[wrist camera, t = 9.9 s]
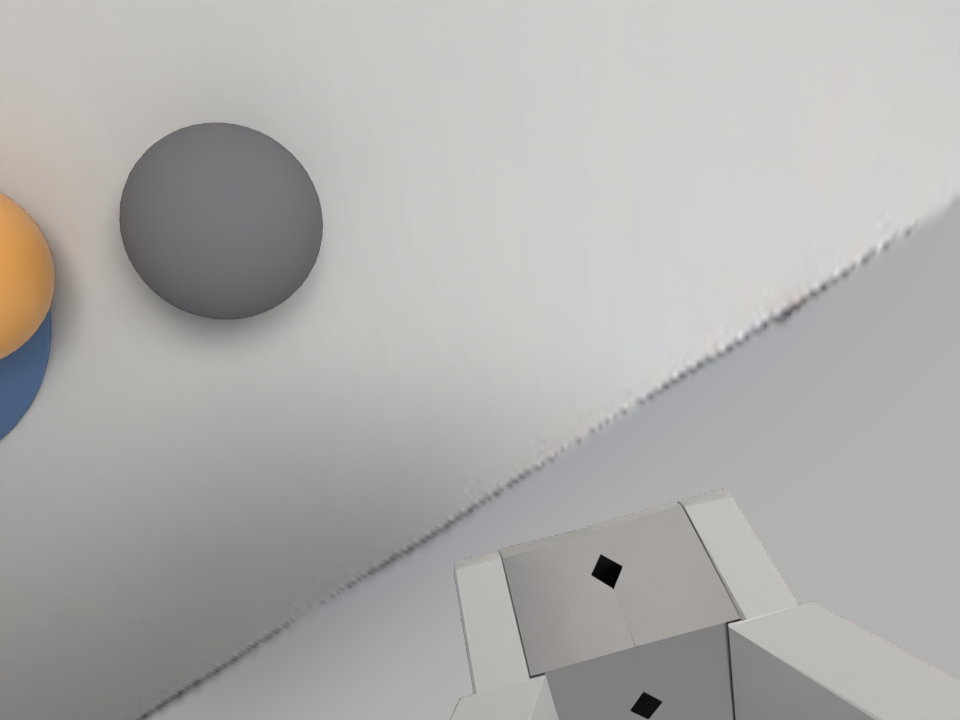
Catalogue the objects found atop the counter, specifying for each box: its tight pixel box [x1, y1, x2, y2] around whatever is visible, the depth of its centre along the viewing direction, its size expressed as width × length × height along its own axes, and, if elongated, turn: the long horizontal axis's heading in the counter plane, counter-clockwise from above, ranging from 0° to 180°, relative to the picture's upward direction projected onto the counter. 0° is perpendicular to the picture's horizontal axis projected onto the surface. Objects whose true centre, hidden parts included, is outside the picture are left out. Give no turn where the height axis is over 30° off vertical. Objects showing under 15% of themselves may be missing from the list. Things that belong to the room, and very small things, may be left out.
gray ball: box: [120, 123, 323, 319], centre depth 22 cm, size 5×5×5 cm
